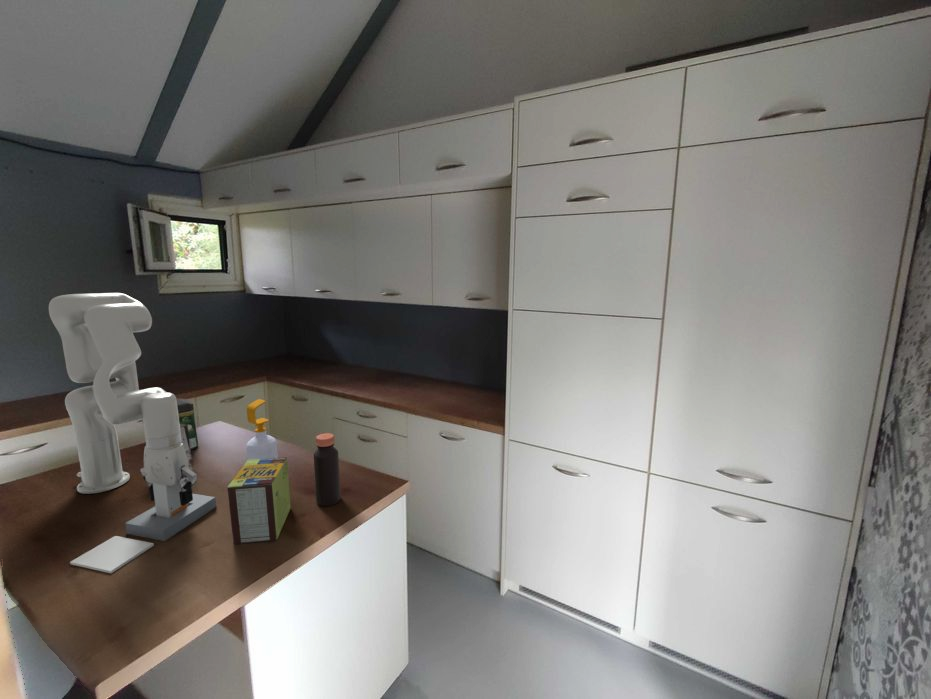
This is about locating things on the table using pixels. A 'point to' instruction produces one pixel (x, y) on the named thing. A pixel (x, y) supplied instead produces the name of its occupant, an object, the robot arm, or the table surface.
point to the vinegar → (326, 471)
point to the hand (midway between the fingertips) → (172, 500)
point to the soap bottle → (260, 436)
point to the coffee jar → (188, 419)
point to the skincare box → (167, 500)
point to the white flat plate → (112, 554)
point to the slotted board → (166, 528)
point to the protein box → (259, 500)
